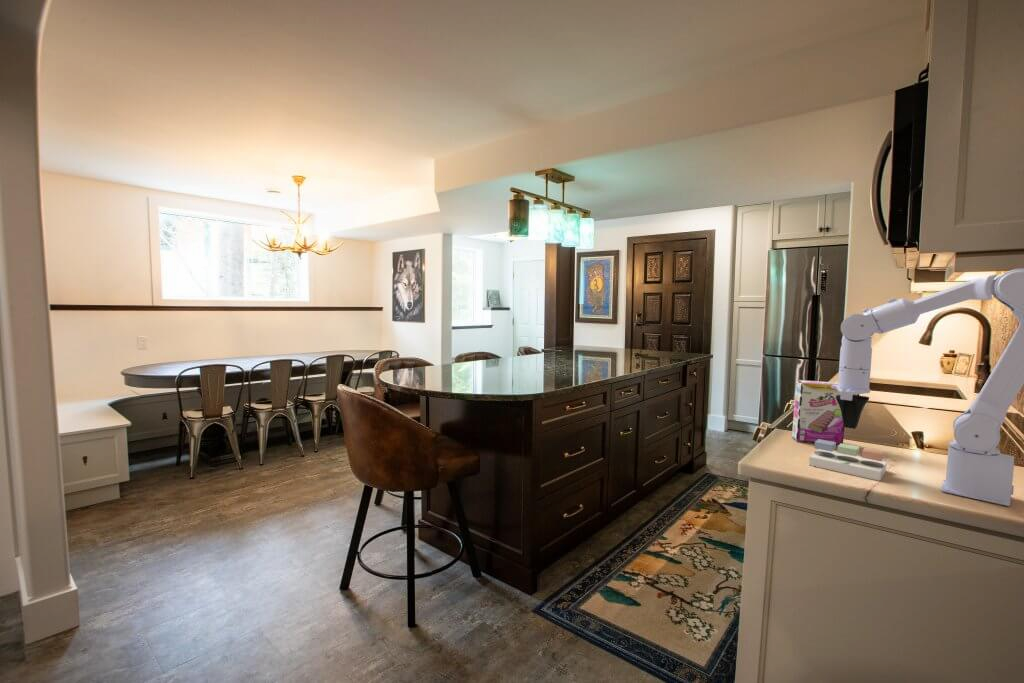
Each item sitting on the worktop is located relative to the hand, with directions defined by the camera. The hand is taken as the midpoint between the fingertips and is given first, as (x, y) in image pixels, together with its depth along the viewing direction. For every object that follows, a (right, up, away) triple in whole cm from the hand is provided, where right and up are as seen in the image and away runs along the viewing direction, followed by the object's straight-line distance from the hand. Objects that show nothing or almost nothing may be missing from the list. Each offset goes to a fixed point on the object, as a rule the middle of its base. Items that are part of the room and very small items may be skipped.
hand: (850, 427), depth 106 cm
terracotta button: (+3, -6, -3) cm, 7 cm away
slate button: (-3, -6, +4) cm, 7 cm away
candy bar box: (+6, -8, +21) cm, 24 cm away
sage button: (0, -6, 0) cm, 6 cm away
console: (0, -9, +1) cm, 9 cm away
